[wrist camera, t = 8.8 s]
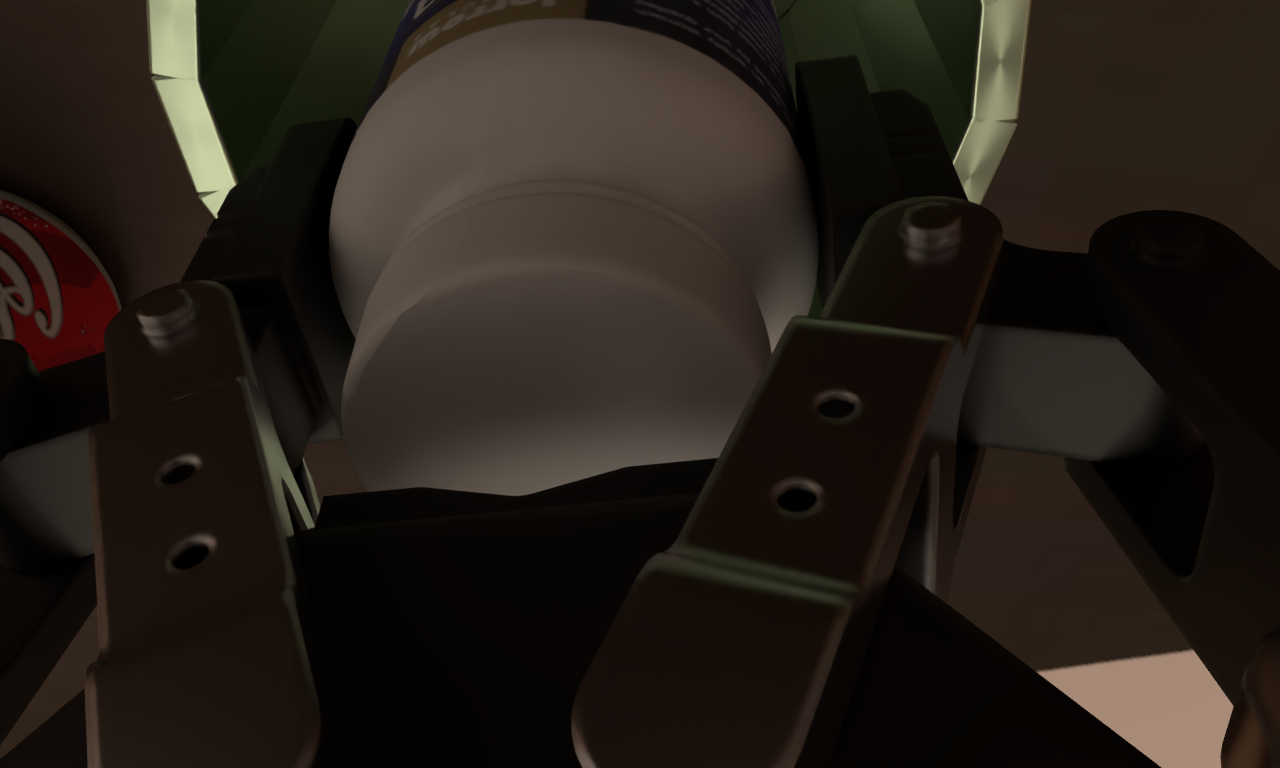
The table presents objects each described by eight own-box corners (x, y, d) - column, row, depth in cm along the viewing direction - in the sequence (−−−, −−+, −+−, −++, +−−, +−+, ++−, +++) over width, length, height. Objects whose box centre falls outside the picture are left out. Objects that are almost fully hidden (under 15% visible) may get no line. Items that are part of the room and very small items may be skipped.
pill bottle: (581, -255, 16) (524, 43, 8) (843, 13, 18) (986, 437, 11) (350, 28, 18) (143, 456, 11) (606, 232, 21) (585, 701, 13)
